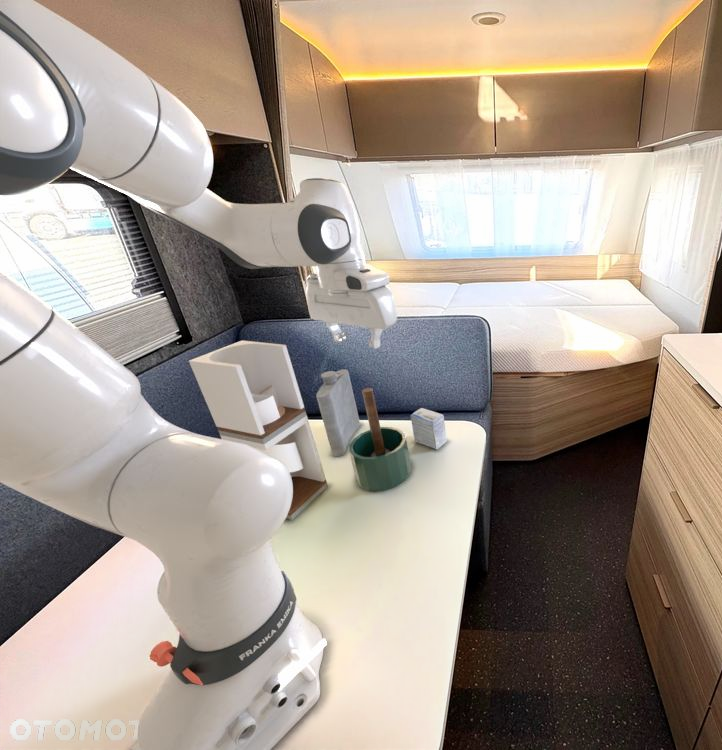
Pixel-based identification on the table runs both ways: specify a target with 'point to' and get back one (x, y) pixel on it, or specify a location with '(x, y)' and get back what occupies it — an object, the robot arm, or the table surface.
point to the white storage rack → (263, 410)
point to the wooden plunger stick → (374, 423)
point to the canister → (380, 460)
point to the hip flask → (338, 409)
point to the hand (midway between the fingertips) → (357, 344)
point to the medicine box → (429, 428)
